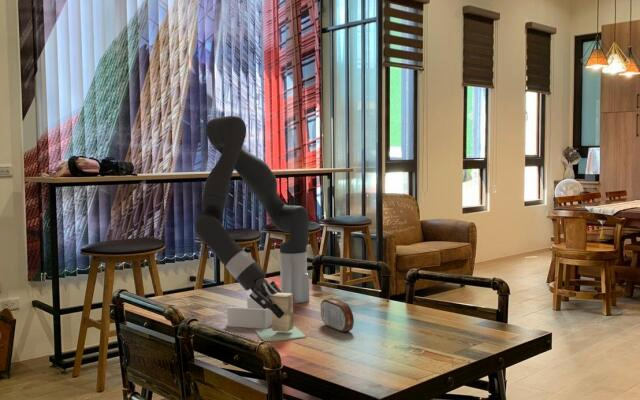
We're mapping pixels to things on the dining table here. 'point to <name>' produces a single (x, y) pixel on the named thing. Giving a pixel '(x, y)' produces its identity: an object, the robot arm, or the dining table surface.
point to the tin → (337, 315)
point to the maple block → (287, 307)
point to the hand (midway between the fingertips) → (285, 313)
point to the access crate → (249, 316)
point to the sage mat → (279, 334)
